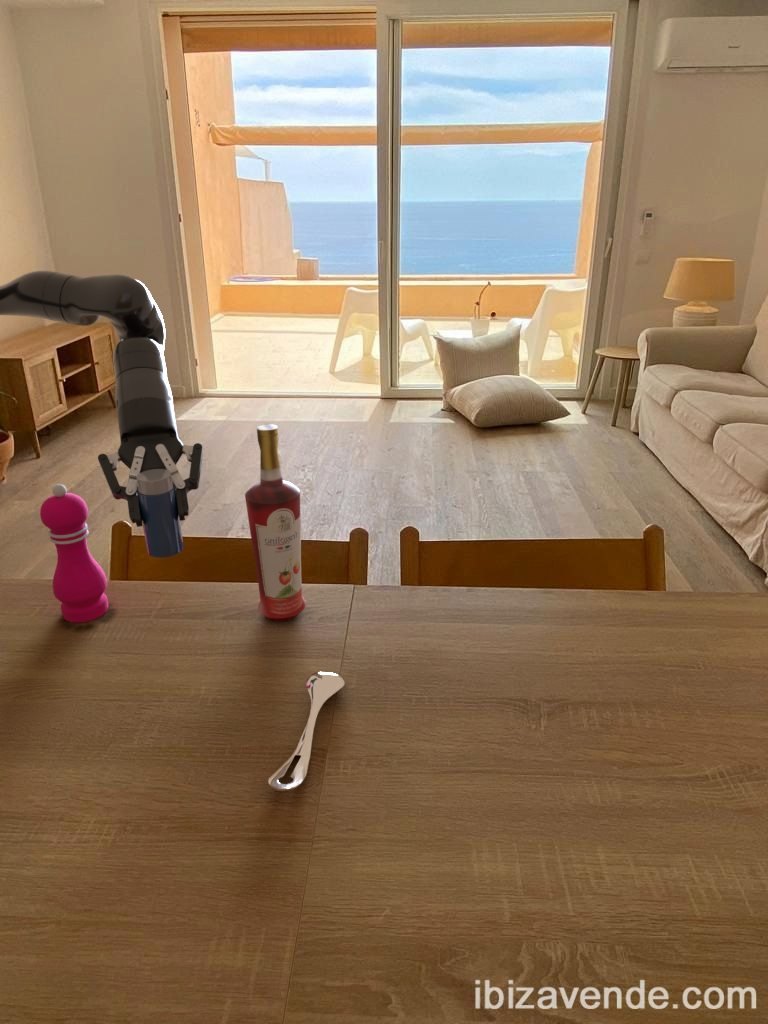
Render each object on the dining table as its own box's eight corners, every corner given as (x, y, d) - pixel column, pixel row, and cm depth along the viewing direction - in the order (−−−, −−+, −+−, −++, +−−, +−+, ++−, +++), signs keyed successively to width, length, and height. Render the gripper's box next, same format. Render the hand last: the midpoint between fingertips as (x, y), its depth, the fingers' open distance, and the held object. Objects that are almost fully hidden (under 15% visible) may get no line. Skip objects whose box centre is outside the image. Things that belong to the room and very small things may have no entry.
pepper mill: (117, 614, 101) (92, 486, 93) (65, 630, 97) (34, 499, 89) (105, 593, 106) (80, 471, 98) (54, 608, 103) (24, 482, 94)
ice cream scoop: (301, 776, 67) (254, 769, 68) (302, 805, 68) (256, 798, 69) (350, 662, 85) (313, 658, 86) (350, 687, 86) (314, 683, 87)
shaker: (142, 557, 93) (128, 481, 88) (154, 541, 97) (142, 468, 93) (177, 557, 93) (166, 481, 88) (188, 541, 97) (177, 468, 93)
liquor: (299, 595, 105) (286, 416, 93) (314, 619, 99) (303, 431, 87) (251, 606, 102) (232, 423, 91) (264, 631, 96) (245, 439, 85)
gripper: (199, 417, 102) (216, 524, 97) (95, 427, 98) (107, 539, 93) (197, 390, 95) (215, 503, 90) (85, 400, 91) (98, 519, 86)
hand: (160, 521), depth 91 cm, fingers closed on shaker, 5 cm apart
